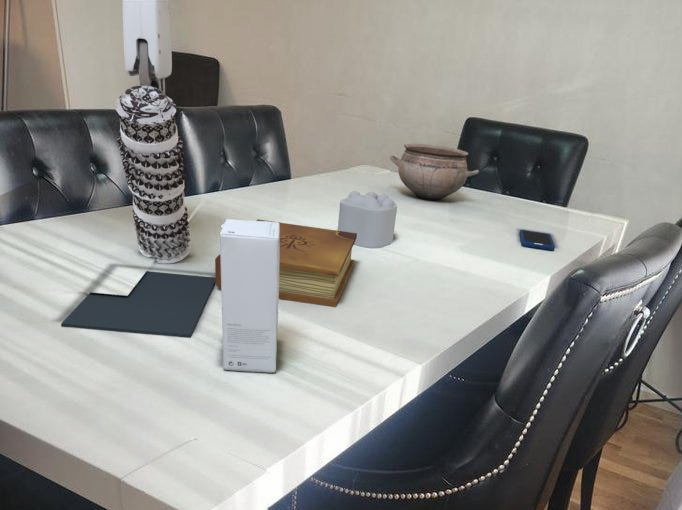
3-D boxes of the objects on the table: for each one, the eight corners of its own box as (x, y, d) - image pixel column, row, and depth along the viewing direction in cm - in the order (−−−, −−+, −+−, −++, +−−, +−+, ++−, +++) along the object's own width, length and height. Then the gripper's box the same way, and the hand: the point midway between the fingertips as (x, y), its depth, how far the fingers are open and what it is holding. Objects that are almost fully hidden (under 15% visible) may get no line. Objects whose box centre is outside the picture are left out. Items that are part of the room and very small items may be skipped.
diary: (252, 251, 118) (253, 218, 115) (353, 266, 117) (357, 233, 114) (215, 289, 99) (214, 251, 96) (335, 307, 98) (339, 269, 95)
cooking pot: (376, 194, 176) (381, 144, 169) (395, 185, 191) (401, 139, 184) (466, 211, 170) (475, 160, 164) (478, 200, 186) (487, 153, 179)
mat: (61, 326, 82) (61, 323, 81) (113, 270, 101) (113, 267, 101) (190, 337, 83) (190, 334, 83) (216, 280, 103) (216, 277, 103)
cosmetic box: (275, 374, 77) (280, 239, 68) (218, 371, 76) (216, 233, 67) (277, 346, 84) (282, 220, 75) (225, 343, 83) (224, 215, 74)
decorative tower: (142, 269, 105) (115, 117, 84) (131, 231, 110) (103, 78, 88) (198, 261, 108) (186, 113, 87) (185, 225, 112) (170, 75, 91)
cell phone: (521, 246, 144) (522, 242, 144) (519, 232, 155) (519, 228, 155) (554, 251, 143) (555, 247, 143) (549, 236, 155) (550, 233, 154)
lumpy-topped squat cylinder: (330, 238, 132) (334, 193, 127) (359, 228, 142) (363, 186, 137) (376, 250, 128) (382, 203, 124) (402, 238, 138) (408, 195, 134)
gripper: (131, -20, 94) (141, 123, 104) (102, -29, 81) (117, 135, 91) (184, -13, 94) (189, 129, 104) (163, -20, 82) (171, 141, 92)
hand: (155, 131), depth 98 cm, fingers closed
